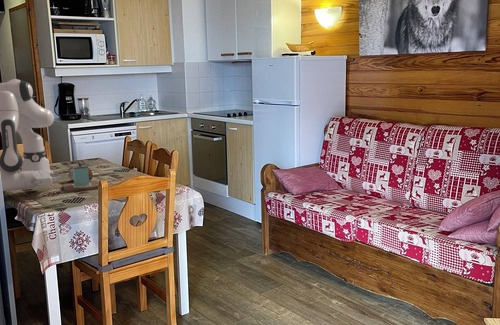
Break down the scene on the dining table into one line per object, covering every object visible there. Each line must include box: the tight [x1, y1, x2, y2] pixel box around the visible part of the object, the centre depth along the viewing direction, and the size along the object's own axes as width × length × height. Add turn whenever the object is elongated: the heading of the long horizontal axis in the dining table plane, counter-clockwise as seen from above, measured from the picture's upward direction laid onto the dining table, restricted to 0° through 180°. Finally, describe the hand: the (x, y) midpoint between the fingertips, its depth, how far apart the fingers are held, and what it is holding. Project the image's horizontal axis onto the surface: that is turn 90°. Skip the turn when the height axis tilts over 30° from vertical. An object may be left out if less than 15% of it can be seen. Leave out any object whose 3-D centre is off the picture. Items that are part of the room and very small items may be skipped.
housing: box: [71, 161, 89, 187], centre depth 264 cm, size 5×7×12 cm
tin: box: [67, 166, 94, 182], centre depth 279 cm, size 15×3×8 cm, turn 68°
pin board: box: [61, 180, 99, 194], centre depth 265 cm, size 14×18×5 cm
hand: (59, 176), depth 259 cm, fingers open, 8 cm apart
